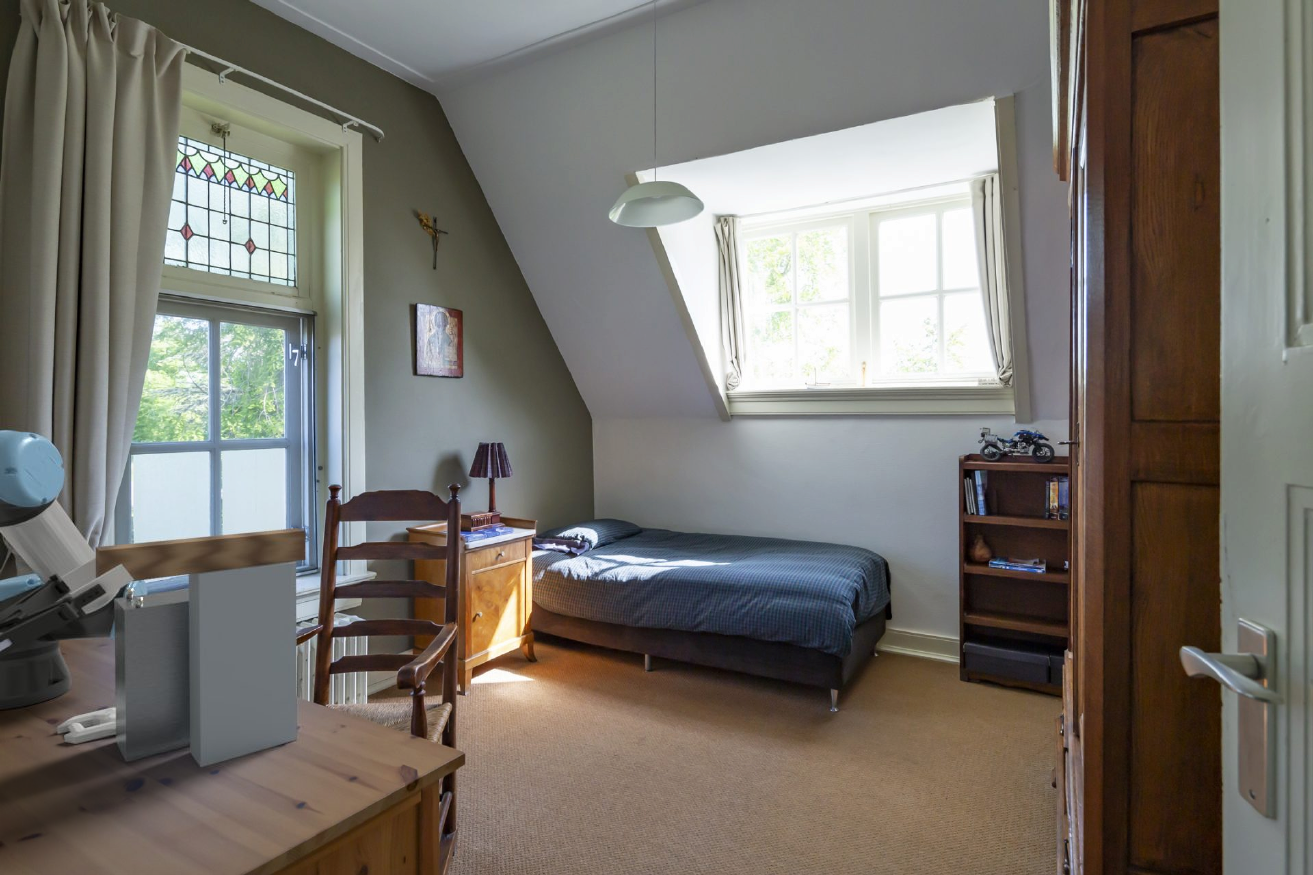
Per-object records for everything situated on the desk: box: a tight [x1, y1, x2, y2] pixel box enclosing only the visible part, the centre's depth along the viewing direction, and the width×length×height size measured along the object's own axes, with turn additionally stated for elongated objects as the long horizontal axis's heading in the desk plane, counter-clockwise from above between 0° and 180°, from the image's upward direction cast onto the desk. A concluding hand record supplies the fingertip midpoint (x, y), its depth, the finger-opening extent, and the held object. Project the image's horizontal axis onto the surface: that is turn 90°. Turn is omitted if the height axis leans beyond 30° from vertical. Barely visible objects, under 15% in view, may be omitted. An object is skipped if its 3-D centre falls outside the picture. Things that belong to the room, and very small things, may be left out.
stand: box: [188, 561, 298, 768], centre depth 118 cm, size 7×14×30 cm, turn 134°
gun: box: [56, 706, 116, 745], centre depth 126 cm, size 18×4×10 cm
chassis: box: [114, 588, 190, 763], centre depth 122 cm, size 10×16×26 cm, turn 134°
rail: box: [95, 527, 306, 581], centre depth 114 cm, size 28×4×5 cm, turn 134°
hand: (120, 564), depth 106 cm, fingers open, 13 cm apart
